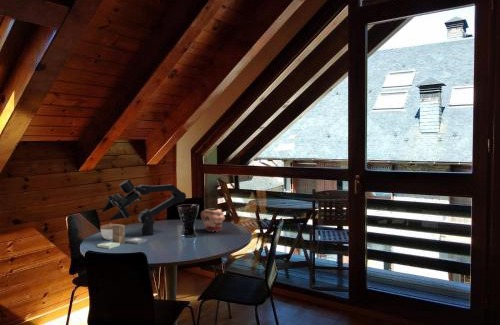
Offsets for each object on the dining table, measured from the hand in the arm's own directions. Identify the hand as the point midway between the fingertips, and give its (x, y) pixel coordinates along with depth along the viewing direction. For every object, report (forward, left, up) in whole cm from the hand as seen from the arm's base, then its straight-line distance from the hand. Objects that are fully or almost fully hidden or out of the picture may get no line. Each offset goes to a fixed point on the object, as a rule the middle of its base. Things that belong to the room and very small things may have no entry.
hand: (106, 215), depth 226 cm
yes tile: (+1, +16, -14) cm, 21 cm away
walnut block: (-5, +12, -14) cm, 19 cm away
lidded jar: (-2, -2, -14) cm, 15 cm away
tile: (-14, +14, -14) cm, 24 cm away
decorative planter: (-63, +7, -14) cm, 65 cm away
